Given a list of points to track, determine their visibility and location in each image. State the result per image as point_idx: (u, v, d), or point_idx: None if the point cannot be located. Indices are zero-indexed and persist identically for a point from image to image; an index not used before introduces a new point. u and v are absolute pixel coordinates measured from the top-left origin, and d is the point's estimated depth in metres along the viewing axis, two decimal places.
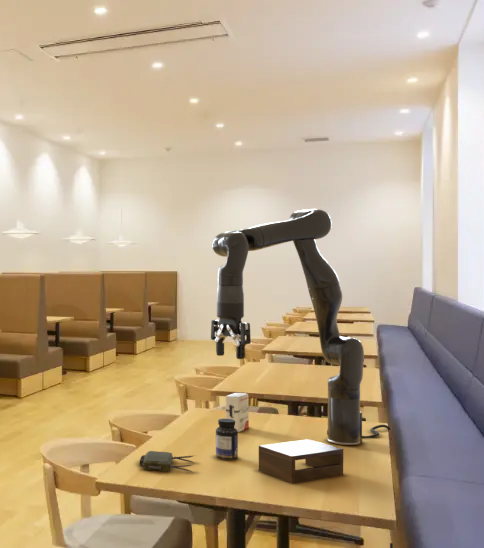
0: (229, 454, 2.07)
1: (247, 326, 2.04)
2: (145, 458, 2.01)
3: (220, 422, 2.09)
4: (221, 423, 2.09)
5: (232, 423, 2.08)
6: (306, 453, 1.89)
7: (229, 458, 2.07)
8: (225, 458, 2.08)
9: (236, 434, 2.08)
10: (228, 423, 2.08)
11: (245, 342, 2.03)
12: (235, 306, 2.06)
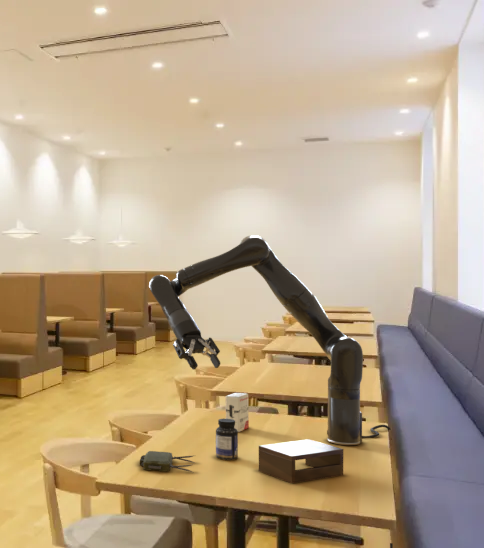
0: (229, 454, 2.07)
1: (175, 343, 2.24)
2: (145, 458, 2.01)
3: (220, 422, 2.09)
4: (221, 423, 2.09)
5: (232, 423, 2.08)
6: (306, 453, 1.89)
7: (229, 458, 2.07)
8: (225, 458, 2.08)
9: (236, 434, 2.08)
10: (228, 423, 2.08)
11: (180, 356, 2.22)
12: (174, 332, 2.30)
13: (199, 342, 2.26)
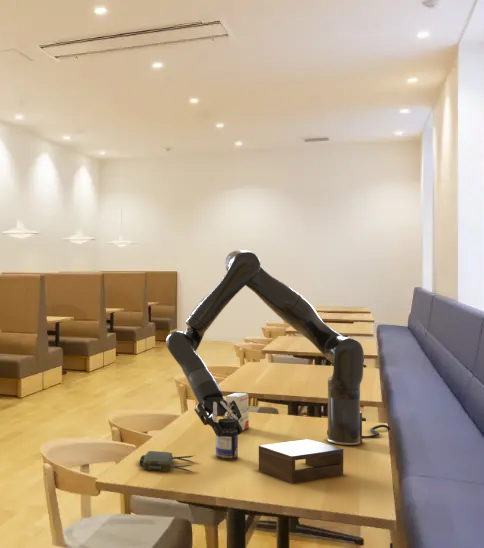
0: (229, 454, 2.07)
1: (197, 408, 2.12)
2: (145, 458, 2.01)
3: (220, 422, 2.09)
4: (221, 423, 2.09)
5: (232, 423, 2.08)
6: (306, 453, 1.89)
7: (229, 458, 2.07)
8: (225, 458, 2.08)
9: (236, 434, 2.08)
10: (228, 423, 2.08)
11: (204, 422, 2.10)
12: (195, 393, 2.18)
13: (221, 405, 2.14)
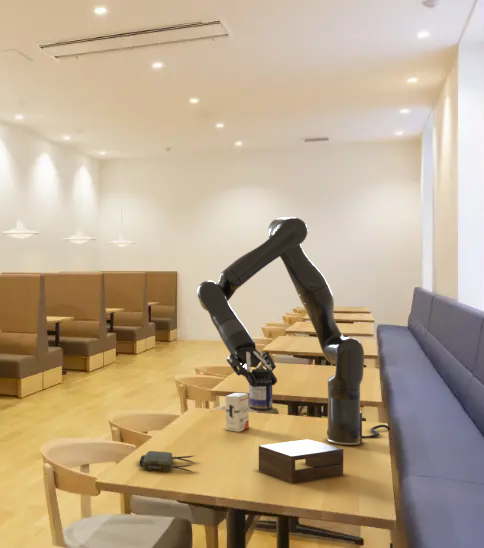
0: (264, 405, 2.00)
1: (230, 358, 2.04)
2: (145, 458, 2.01)
3: (254, 372, 2.02)
4: (255, 373, 2.02)
5: (266, 373, 2.01)
6: (306, 453, 1.89)
7: (264, 409, 2.00)
8: (259, 409, 2.00)
9: (271, 384, 2.01)
10: (262, 373, 2.01)
11: (237, 372, 2.02)
12: (226, 344, 2.11)
13: (254, 355, 2.06)
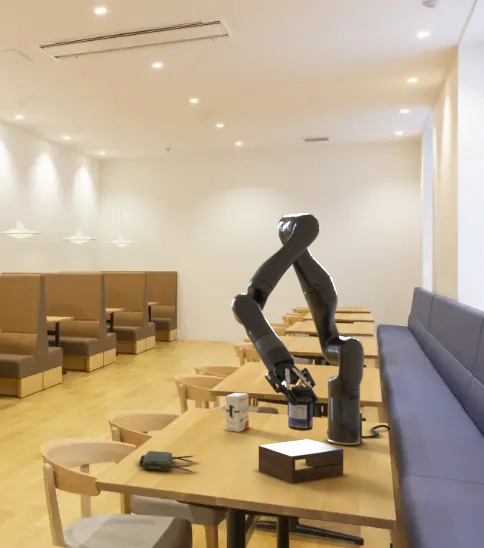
0: (304, 424, 1.92)
1: (268, 375, 1.96)
2: (145, 458, 2.01)
3: (294, 390, 1.94)
4: (295, 391, 1.94)
5: (307, 391, 1.93)
6: (306, 453, 1.89)
7: (304, 428, 1.92)
8: (300, 428, 1.92)
9: (311, 403, 1.93)
10: (303, 391, 1.93)
11: (276, 390, 1.94)
12: (263, 360, 2.03)
13: (293, 372, 1.98)
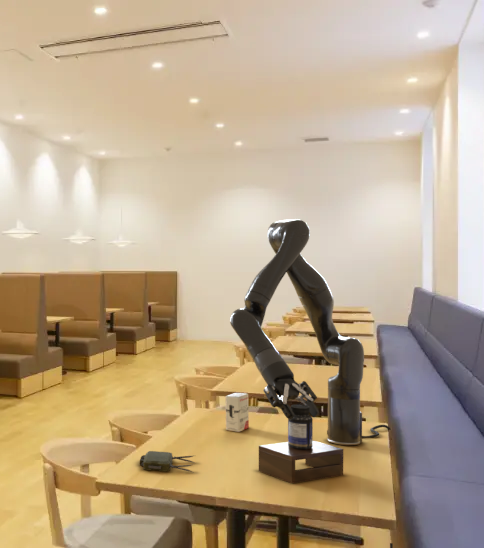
0: (304, 443, 1.92)
1: (267, 389, 1.97)
2: (145, 458, 2.01)
3: (293, 408, 1.94)
4: (295, 409, 1.94)
5: (307, 409, 1.93)
6: (306, 453, 1.89)
7: (304, 447, 1.92)
8: (299, 447, 1.92)
9: (311, 421, 1.93)
10: (303, 409, 1.93)
11: (273, 404, 1.94)
12: (263, 375, 2.03)
13: (293, 387, 1.98)
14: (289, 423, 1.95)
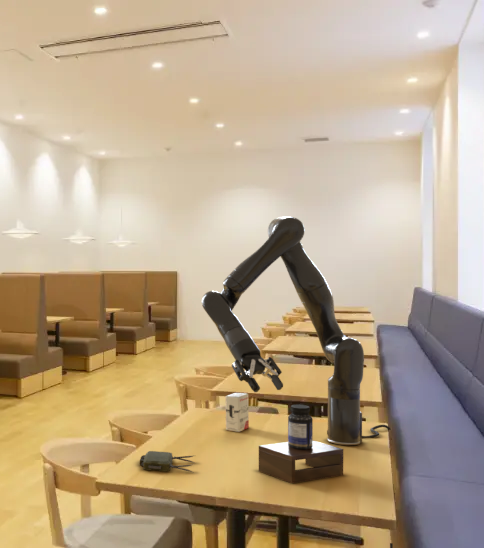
0: (304, 443, 1.92)
1: (234, 364, 2.11)
2: (145, 458, 2.01)
3: (293, 408, 1.94)
4: (295, 409, 1.94)
5: (307, 409, 1.93)
6: (306, 453, 1.89)
7: (304, 447, 1.92)
8: (299, 447, 1.92)
9: (311, 421, 1.93)
10: (303, 409, 1.93)
11: (240, 378, 2.09)
12: (232, 351, 2.17)
13: (259, 362, 2.13)
14: (289, 423, 1.95)
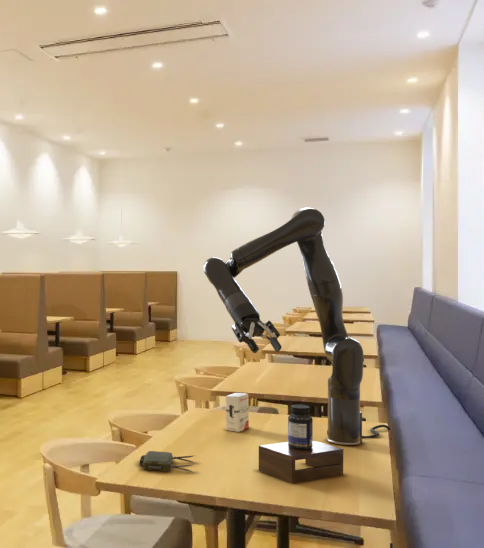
0: (304, 443, 1.92)
1: (234, 326, 2.17)
2: (145, 458, 2.01)
3: (293, 408, 1.94)
4: (295, 409, 1.94)
5: (307, 409, 1.93)
6: (306, 453, 1.89)
7: (304, 447, 1.92)
8: (299, 447, 1.92)
9: (311, 421, 1.93)
10: (303, 409, 1.93)
11: (239, 339, 2.15)
12: (232, 315, 2.23)
13: (258, 325, 2.19)
14: (289, 423, 1.95)
